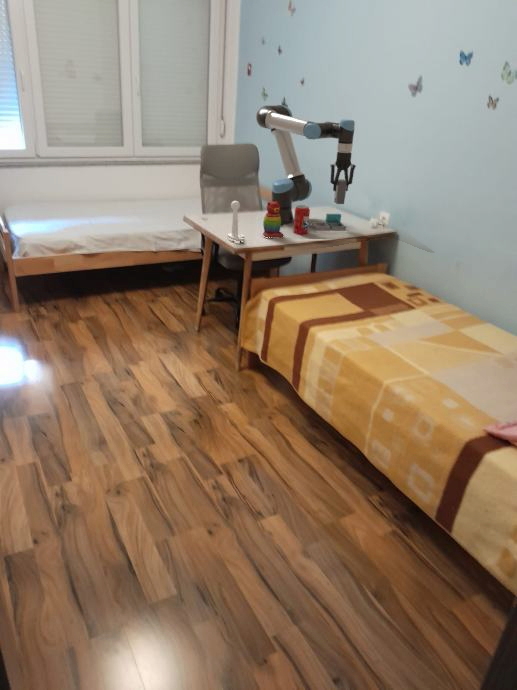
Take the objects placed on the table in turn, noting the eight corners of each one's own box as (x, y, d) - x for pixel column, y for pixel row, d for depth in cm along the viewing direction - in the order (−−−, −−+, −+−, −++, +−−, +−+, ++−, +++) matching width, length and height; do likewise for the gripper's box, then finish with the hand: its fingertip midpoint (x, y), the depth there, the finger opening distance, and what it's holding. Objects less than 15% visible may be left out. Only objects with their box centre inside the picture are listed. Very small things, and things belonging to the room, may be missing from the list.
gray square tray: (317, 234, 284) (317, 228, 282) (309, 225, 298) (310, 220, 297) (347, 234, 286) (348, 228, 285) (338, 225, 301) (338, 220, 300)
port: (331, 230, 288) (332, 219, 285) (325, 224, 299) (326, 213, 296) (345, 230, 289) (346, 219, 286) (338, 224, 300) (339, 213, 297)
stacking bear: (266, 239, 271) (268, 204, 263) (258, 233, 279) (260, 200, 271) (285, 237, 275) (287, 203, 267) (276, 232, 283) (278, 199, 275)
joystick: (225, 238, 270) (226, 198, 260) (238, 236, 273) (239, 197, 264) (236, 244, 262) (237, 203, 252) (249, 242, 265) (250, 202, 256)
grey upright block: (336, 204, 283) (339, 181, 278) (333, 201, 288) (336, 179, 283) (344, 204, 284) (346, 181, 278) (340, 201, 289) (343, 179, 283)
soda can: (291, 232, 284) (293, 204, 277) (305, 232, 286) (307, 204, 279) (295, 236, 277) (297, 208, 270) (309, 236, 279) (312, 208, 272)
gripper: (330, 152, 269) (326, 198, 280) (362, 153, 272) (356, 198, 282) (326, 150, 276) (322, 195, 286) (357, 151, 278) (352, 195, 289)
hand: (339, 197), depth 284 cm, fingers closed on grey upright block, 4 cm apart
